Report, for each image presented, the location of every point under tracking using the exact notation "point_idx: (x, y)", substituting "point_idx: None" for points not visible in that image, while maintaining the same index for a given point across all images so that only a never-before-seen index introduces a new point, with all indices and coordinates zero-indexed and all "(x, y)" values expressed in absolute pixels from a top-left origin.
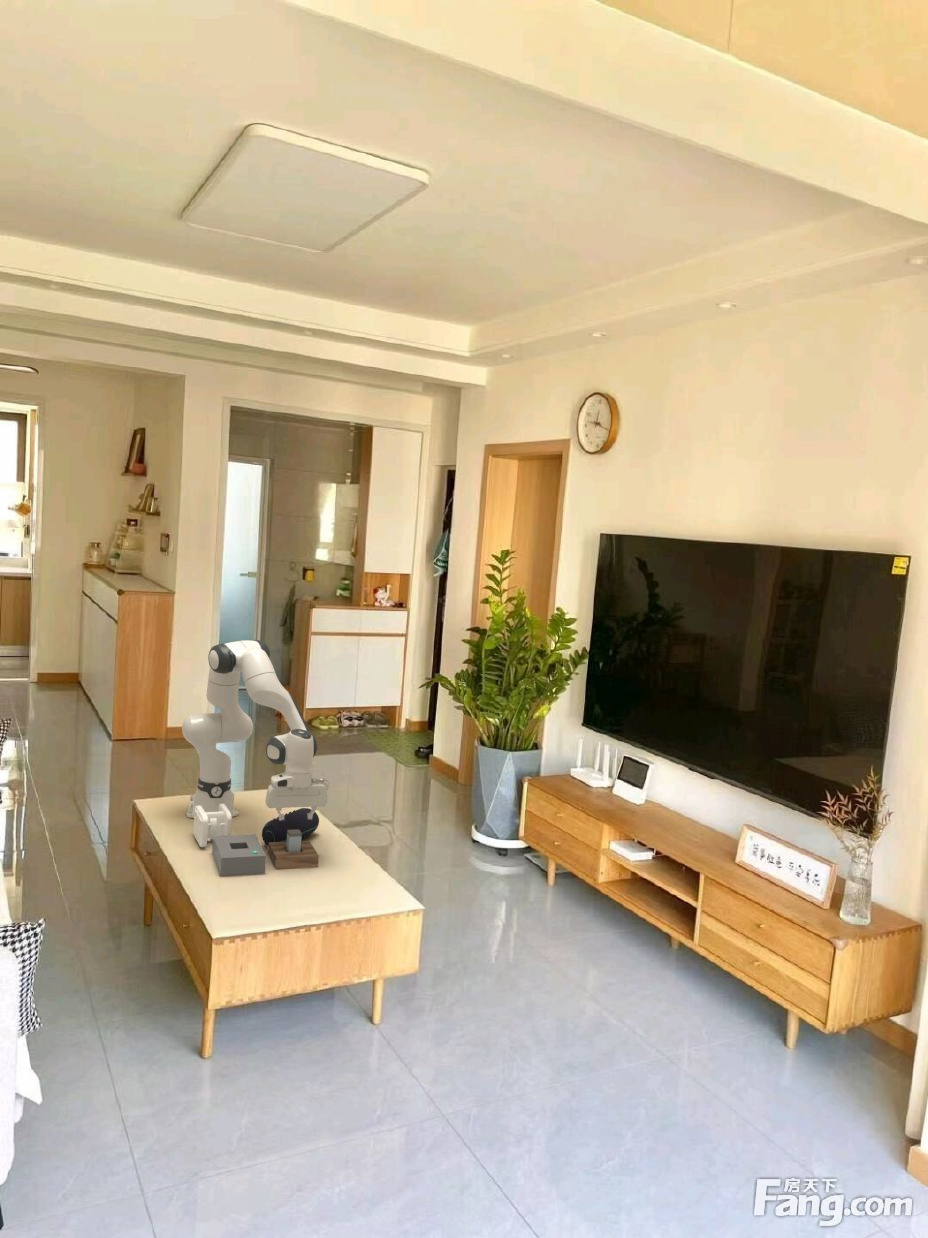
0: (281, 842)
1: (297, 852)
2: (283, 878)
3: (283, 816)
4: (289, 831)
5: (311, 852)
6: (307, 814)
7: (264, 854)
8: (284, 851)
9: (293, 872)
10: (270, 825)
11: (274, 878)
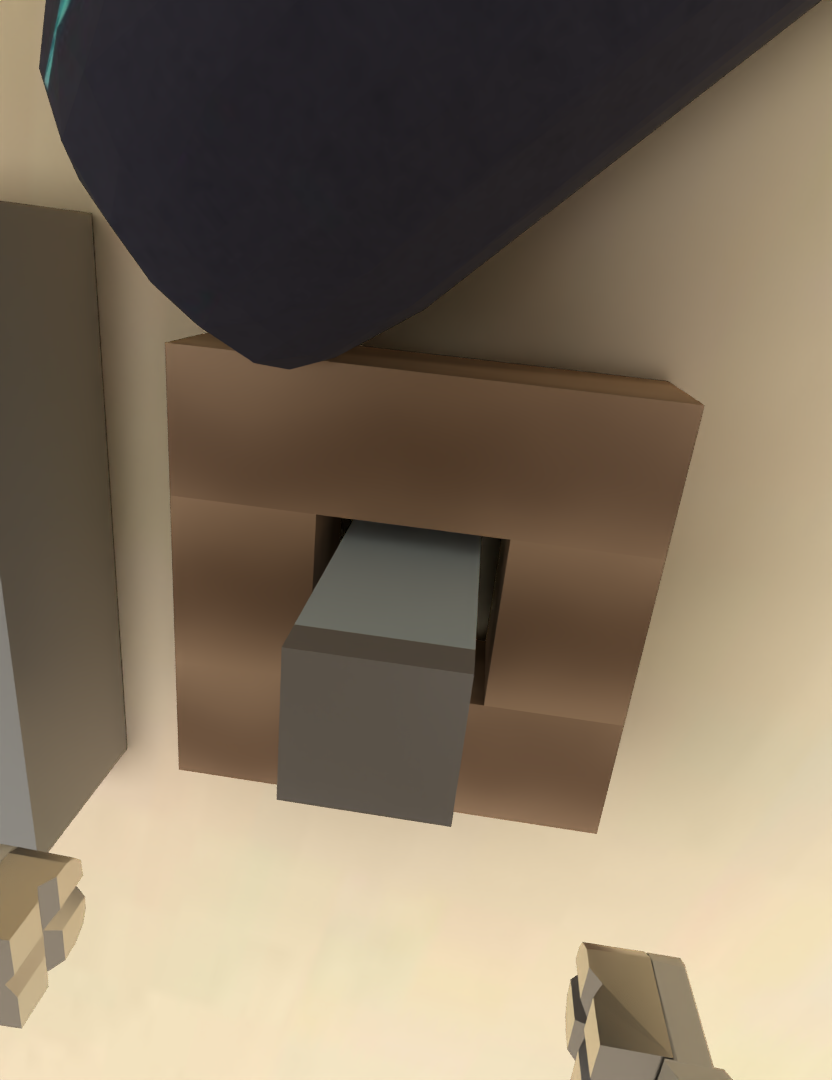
0: (324, 381)
1: None
2: (247, 851)
3: (10, 1010)
4: (296, 717)
5: (558, 754)
6: (589, 1049)
7: (24, 837)
8: None
9: None
10: (93, 194)
11: (184, 833)
